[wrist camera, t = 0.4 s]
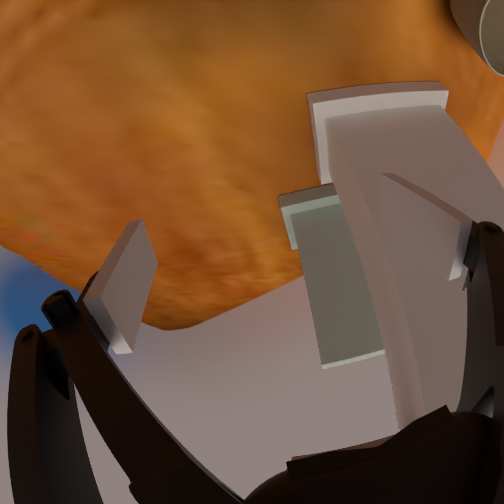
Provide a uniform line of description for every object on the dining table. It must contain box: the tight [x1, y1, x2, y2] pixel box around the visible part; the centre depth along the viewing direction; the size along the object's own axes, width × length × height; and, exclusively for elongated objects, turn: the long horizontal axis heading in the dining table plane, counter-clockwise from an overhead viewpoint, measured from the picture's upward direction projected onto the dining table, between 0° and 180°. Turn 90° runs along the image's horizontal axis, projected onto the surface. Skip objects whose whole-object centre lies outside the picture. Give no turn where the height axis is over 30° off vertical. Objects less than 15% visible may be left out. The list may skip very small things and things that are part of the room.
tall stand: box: [307, 81, 504, 430], centre depth 21 cm, size 16×12×30 cm
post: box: [278, 184, 385, 369], centre depth 36 cm, size 16×12×22 cm
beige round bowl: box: [450, 0, 504, 77], centre depth 11 cm, size 10×10×7 cm
